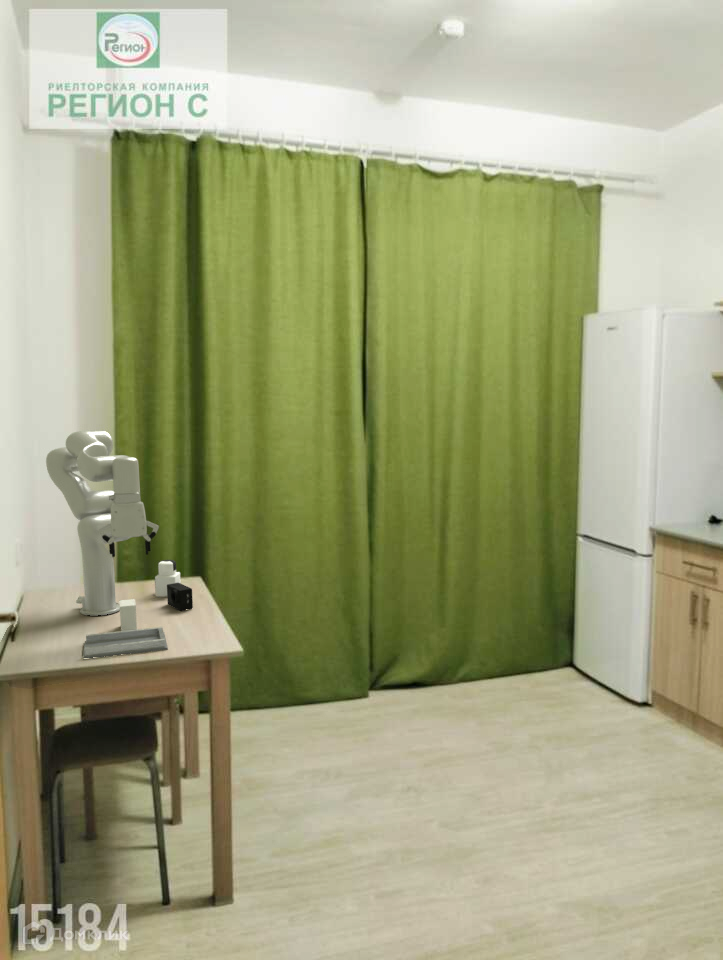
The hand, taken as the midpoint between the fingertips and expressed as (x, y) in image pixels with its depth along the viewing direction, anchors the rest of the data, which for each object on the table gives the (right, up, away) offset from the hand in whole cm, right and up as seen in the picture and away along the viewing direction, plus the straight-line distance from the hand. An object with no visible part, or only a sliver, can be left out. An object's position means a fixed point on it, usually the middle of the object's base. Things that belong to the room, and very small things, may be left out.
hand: (130, 555), depth 227 cm
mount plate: (+3, -24, -14) cm, 28 cm away
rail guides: (+3, -24, -14) cm, 28 cm away
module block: (-1, -22, +2) cm, 22 cm away
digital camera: (+9, -20, +24) cm, 32 cm away
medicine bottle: (+1, -18, +40) cm, 44 cm away
